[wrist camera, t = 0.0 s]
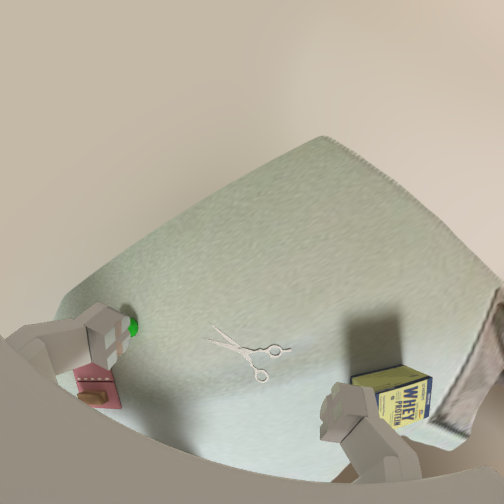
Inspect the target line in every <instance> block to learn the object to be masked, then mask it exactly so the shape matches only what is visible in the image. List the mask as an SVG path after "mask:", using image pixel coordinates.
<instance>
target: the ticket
mask: <svg viewBox="0 0 504 504" xmlns="http://www.w3.org/2000/svg"><path fill="white" fill-rule="evenodd" d="M73 372H74V375H75V379H76V381H113V380H114V379H113V375H112V371H111V368H110V370H109V371H108V370H106V369H104V368H103V367H101V366H99V365H97V364H95V363H93V362H91V363H89V364H87V365H84V366H81V367H78V368H76V369H73Z"/></svg>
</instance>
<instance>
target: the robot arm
mask: <svg viewBox="0 0 504 504" xmlns="http://www.w3.org/2000/svg"><path fill="white" fill-rule="evenodd" d="M129 326H130V318H129V317H128V316H127V315H125V314H123V313H121V312H119V311H117V310H115V309H113V308H111V307H108V306H106V305H104V304H102V303H100V302H96V303H95V304H93V305H92V306H91V307H89V308H88V309H87V310H85V311H84V312H83V313H82V314H80V315H79V316H78V317H76V318H75V319H74V320H73V319H72V318H69V319H63V320H57V321H50V322H44V323H38V324H31V325H24V326H23V327H21V328H20V329H18V330H17V331H16V332H14V333H13V334H11V335H10V336H9V337H8V338H6V339H4V338H3V337H1V336H0V504H504V477H503V476H502V475H501V474H500V473H498V472H497V471H496V470H494V469H493V468H492V467H490V466H488V465H483V466H479V467H476V468H472V469H469V470H465V471H461V472H457V473H452V474H447V475H443V476H437V477H432V478H425V479H422V474H421V469H420V464H419V460H418V456H417V454H416V453H415V452H414V451H413V450H412V449H411V447H410V446H409V445H408V444H407V443H406V442H405V441H404V440H403V439H402V438H401V437H400V436H399V435H398V434H397V433H396V432H395V431H394V429H393V428H392V427H391V426H390V425H389V424H388V423H387V422H386V421H385V420H384V419H383V418H380V415H379V411H378V406H377V402H376V398H375V393H374V389H373V388H372V387H364V386H357V385H351V384H345V383H339V382H336V383H335V384H334V386H333V387H332V389H331V390H332V394H330V395H328V396H326V398H325V399H324V401H323V404H322V406H321V411H320V419H321V420H322V421H323V424H322V425H321V426H320V440H322V441H328V442H335V443H340V445H341V447H342V448H343V450H344V452H345V454H346V455H347V457H348V458H349V460H350V462H351V463H352V465H353V467H354V468H355V470H356V472H357V473H358V475H359V478H358V479H356V480H355V481H354V482H352V483H328V482H315V481H305V480H297V479H289V478H283V477H277V476H271V475H265V474H260V473H256V472H251V471H247V470H242V469H238V468H234V467H231V466H227V465H223V464H220V463H216V462H213V461H210V460H207V459H204V458H200V457H197V456H195V455H192V454H189V453H186V452H183V451H181V450H178V449H175V448H173V447H170V446H168V445H165V444H163V443H161V442H158V441H156V440H154V439H151V438H149V437H147V436H145V435H143V434H141V433H138V432H136V431H134V430H132V429H130V428H128V427H126V426H124V425H122V424H120V423H119V422H117V421H115V420H113V419H111V418H109V417H108V416H106V415H104V414H102V413H101V412H99V411H97V410H96V409H94V408H92V407H91V406H89V405H87V404H86V403H84V402H83V401H81V400H80V399H78V398H77V397H75V396H74V395H72V394H71V393H69V392H68V391H66V390H65V389H63V388H62V387H61V386H59V385H58V383H57V380H56V377H55V376H56V375H59V374H62V373H65V372H67V371H70V370H73V369H76V368H78V367H81V366H84V365H87V364H89V363H91V362H93V363H95V364H97V365H99V366H101V367H103V368H104V369H106V370H108V371H109V370H110V368H111V367H112V366H113V365H114V364H115V363H116V362H117V356H118V355H122V354H124V352H125V351H126V350H127V348H128V346H129V344H130V332H129V330H128V327H129Z"/></svg>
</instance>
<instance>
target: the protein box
mask: <svg viewBox="0 0 504 504" xmlns="http://www.w3.org/2000/svg"><path fill="white" fill-rule="evenodd" d="M432 379H433V378H432V377H431V376H428V375H426V374H423V373H421V372H419V371H416V370H414V369H412V368H409V367H407V366H405V365H398V366H394V367H390V368H386V369H382V370H378V371H373V372H369V373H364V374H360V375H355V376H351V385H357V386H364V387H372V388H373V389H374V393H375V398H376V402H377V406H378V411H379V415H380V418H383V419H384V420H385V421H386V422H387V423H388V424H389V425H390V426H391V427H392V428H393V429H396V428H399V427H402V426H405V425H408V424H411V423H414V422H416V421H419V420H422V419H424V418H427V417H429V410H430V399H431V390H432Z"/></svg>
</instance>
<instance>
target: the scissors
mask: <svg viewBox="0 0 504 504" xmlns="http://www.w3.org/2000/svg"><path fill="white" fill-rule="evenodd" d="M211 325H212V324H211ZM212 326H213V325H212ZM213 327H214V328H215V329H216V330H217V331H218V332H219V333H220V334H221V335H222V336H223V337H224V338H226V339H227V340H228V341H229V342H231V343H232V344H234V345H235V346H234V345H230V344H225V343H221V342H217V341H213V340H208V339H206V340H208V341H211V342H213V343H216V344H218V345H220V346H223V347H225V348H228V349H231V350H234V351H236V352H239V353H240V354H241V355H243V356H244V357H245V358H246V359H247V360H248V361H249V362H250V366H251V367H252V368H254V370H255V378H256V380H257V381H259V382H261V383H265V382H267V381H268V379H269V377H268V374H267V372H266V371H265V370H258V369H257V368H255V367H254V366H253V364H252V362H251V359H250V356H249V354H251V353H255V352H265V353H268V354H269V356H270V357H271V358H277V357H279V356H281V354H282V353H283V352H291V349H288V350H282V348H281V347H280V346H277V345H272V346H270V347H269V348H268V349H265V350H262V349H259V350H256V351H252V350H249V349H246V348H242V347H241V346H239V345H238V344H237V343H236V342H234V341H233V340H232V339H231V338H229V337H228V336H227V335H225V334H224V333H223V332H221V331H220V330H219V329H217V328H216V327H215V326H213ZM273 347H276V348H279V349H280V354H279V355H276V356H274V355H272V354H270V352H269V351H270V349H271V348H273ZM258 372H263V373H264V374H265V375H266V377H267V378H266V380H265V381H260V380H258V379H257V376H256V375H257V373H258Z"/></svg>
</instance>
